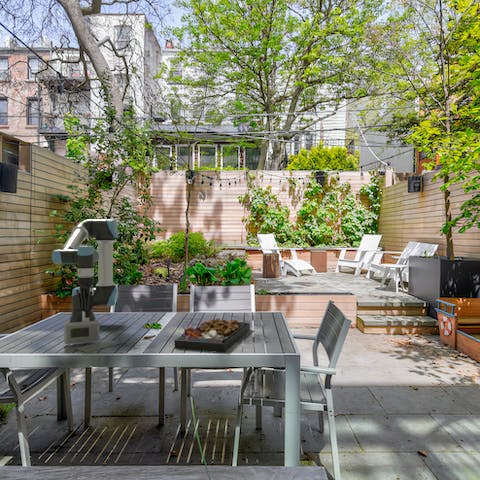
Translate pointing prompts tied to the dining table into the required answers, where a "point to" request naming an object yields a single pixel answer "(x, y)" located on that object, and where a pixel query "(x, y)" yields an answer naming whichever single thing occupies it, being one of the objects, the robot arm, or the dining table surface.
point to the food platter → (212, 335)
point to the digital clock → (81, 332)
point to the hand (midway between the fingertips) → (85, 324)
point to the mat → (97, 346)
